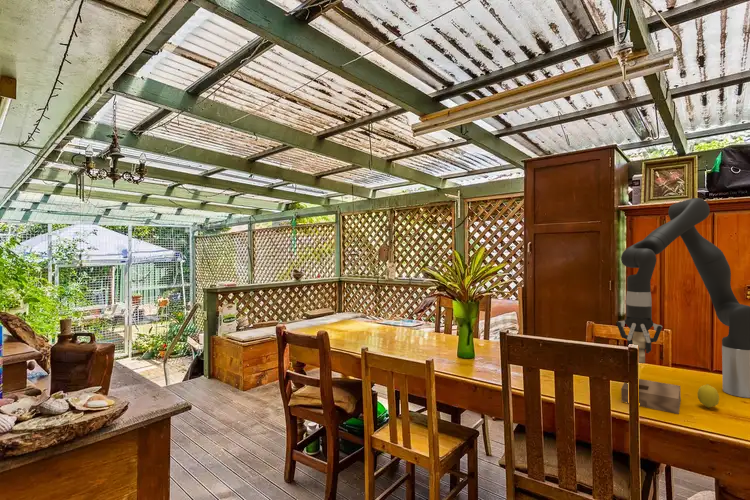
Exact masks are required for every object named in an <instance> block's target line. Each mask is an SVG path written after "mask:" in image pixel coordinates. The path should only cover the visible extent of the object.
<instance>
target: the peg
mask: <svg viewBox="0 0 750 500" xmlns="http://www.w3.org/2000/svg"><path fill="white" fill-rule="evenodd" d="M646 342H647V341H646V338H645V336H644V334H643V332H636V331H634V332H633V335H632V344H634V345H638V346H639V363H638V364H646Z"/></svg>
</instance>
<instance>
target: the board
mask: <svg viewBox="0 0 750 500" xmlns="http://www.w3.org/2000/svg"><path fill="white" fill-rule="evenodd" d="M638 379H639V403H640V406H639V407H643V408H648V409H652V410H656V411H661V412H667V413H670V414H676V415H679V414H680V407H681V400H682V399H681V398H682V397H681V395H682V394H681V385H677V384H673V383H672V384H671V383H665V382H659V381H652V380H647V379H641V378H638ZM620 391H621V393H620V394H621V402H622V401H623V402H627V403H628V384H627V383H625V382H624V383H623V385H622V387H621V390H620ZM627 403H626V404H627Z"/></svg>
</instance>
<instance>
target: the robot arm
mask: <svg viewBox="0 0 750 500" xmlns="http://www.w3.org/2000/svg"><path fill="white" fill-rule="evenodd" d="M710 210H711V209H710V205H709V204H708V202H707V201H706V200H704V199H703V198H701V197H695V198H694V197H693V198H689V199H686V200H683V201H679V202H676V203H673V204H671V205H670V206H669V208H668V217H669V220H670V221H668V222H666V223H664V224H662V225H660V226H658V227H656V228H655V229H653V230H652V231H651V232H650V233H649V234H647V236H645V237H644V238H643V239H641V240H640V241H637V242H636V243H634V244H632V245H630V246H628V247H627V248H625V250H624V251H623V252H622V254H621V257H620V261H621V263H622V265H623V266H624V267H626V268H632V269H638V270H637V272H636V274H630V275H628V276H627V278H626V298H625V303H626V304H625V305H626V306H625V307H626V309H625V310H626V313H625V314H626V317H625V319H624V320H618V321H617V322H616V326H617V328H618V331H619V334H620V337H621V338H622V339H625V340H626V341H627V346H628V345H629V344H632V335H633V332H634V331H636V332H643V334H644V336H645V338H646V349H645V354H650V353H651V352H652V343H654V342H655V343H656V342H657V341H658V339H659V337H660V335H661V332H662V329H663V325H662V324H656V323H654V321H653V317H652V316H653V315H652V314H653V313H652V310H653V305H652V300H653V299H652V291H651V290H652V289H651V285H652V284H651V280H652V277H653V275H654V271H655V267H656V264H657V256H656V255H659V254H660V253H662V252H663V251H664V250H665V249H667V247H669V246H670V244H671V243H673V242H674V241H675V240H676V239H678V238H679V237H680V238H681V239H682V241H683V243H684V245H685V247H686V249H687V250H688V253H689V255H690V257H691V259H692V262H693V264H694V266H695V269H696V270H697V272H698V274H699V276H700V278H701V280H702V282H703V284H704V286H705V288H706V290H707V292H708V295H709V297H710V299H711V303H712V305H713V309H714V312H715V314H716V318H717V319H718V320H719V322H721V324H722V325H724V326H727V327H728V334H727V336H723V337H722V338H721V339H722V340H721V356H722V358H721V359H722V360H721V364H722V365H721V366H722V367H721V369H722V370H721V371H722V392H724V393H726V394H728V395H731V396H735V397H740V398H746V399H747V398H749V399H750V305H747V304H742V303H739V301H738V299H737V298H736V296H735V293H734V292H733V290H732V283H731V278H732V274H731V273H732V272H731V267H730V264H729V262H728V259H727V258H726V256H725V254H724V252H723V251H722V250H721V249H720V248H719V247H718V246H716V245H715V244H714V243H713V242H711V241H709V240H708V239H706V238H705V237H704V236H703V235H702V234H700V232H699V231H698V230H697V228H696V225H698V224H700V223H701V222H703V221H705V220H706V219H707V218H708V217H709V216H710ZM625 324H626V326H627V327H628V328H629V332H628V334H627V333H626V331H625V328H624V327H625ZM651 328H653V330H654V331H655V332H654V336H653V337H651V335H650V332H649V331H650V329H651Z"/></svg>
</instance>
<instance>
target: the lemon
mask: <svg viewBox="0 0 750 500" xmlns="http://www.w3.org/2000/svg"><path fill="white" fill-rule="evenodd" d="M697 399H698V401H699V402H700V404H702V405H703V406H705V407H706V408H707V409H710V408H712V407H713V408H714V407H716V406H718V404H719V401H720V395H719V392H718V390H717V388H715V387H714V386H711V384H708V383H706V384H704V385H701V386H700V387H699V388H698V390H697Z"/></svg>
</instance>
